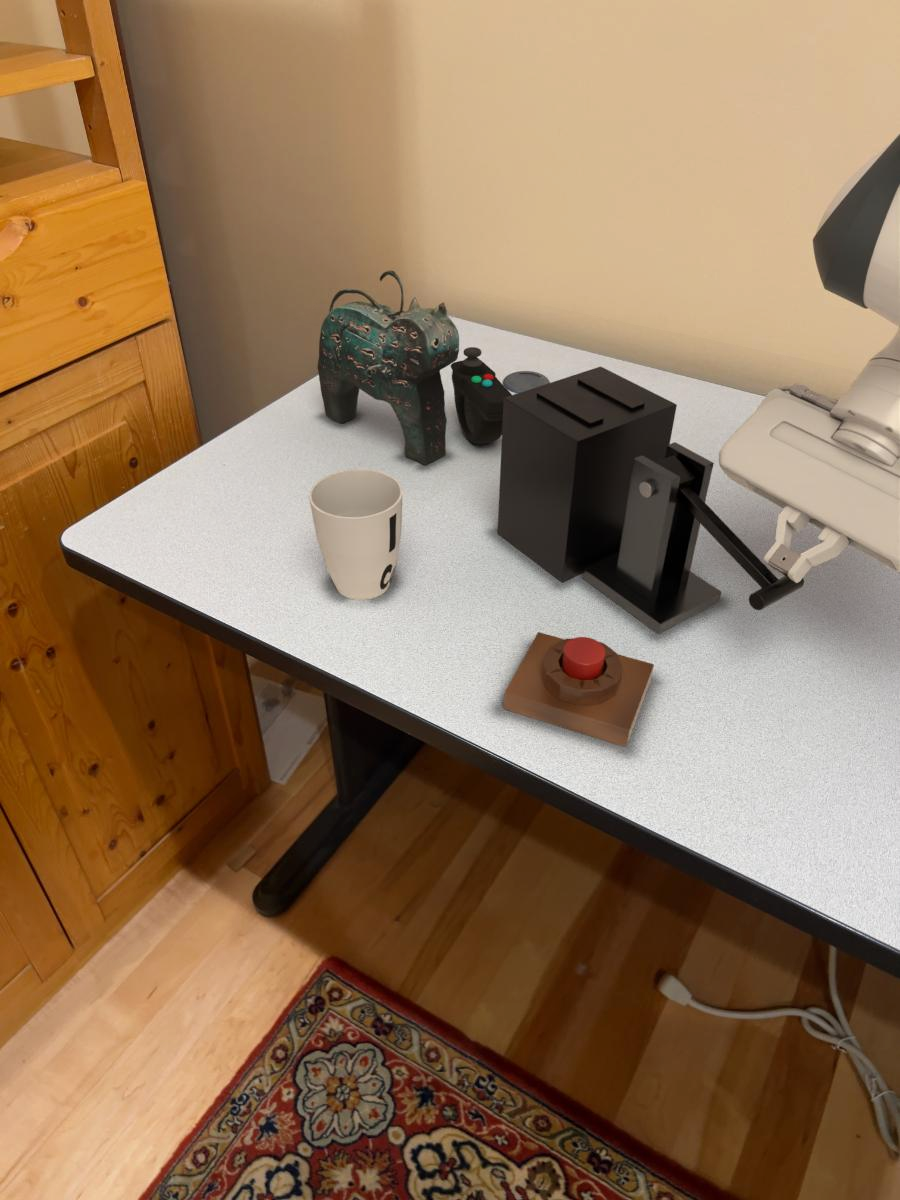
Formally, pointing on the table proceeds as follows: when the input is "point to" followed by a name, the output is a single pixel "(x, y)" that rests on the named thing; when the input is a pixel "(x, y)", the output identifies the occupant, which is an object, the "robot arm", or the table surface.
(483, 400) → the controller
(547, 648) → the control block
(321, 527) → the cup
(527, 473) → the toaster
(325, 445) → the table surface
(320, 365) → the ceramic cat
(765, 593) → the toaster lever
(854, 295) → the robot arm
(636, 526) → the toaster bracket
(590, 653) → the button
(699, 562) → the table surface
